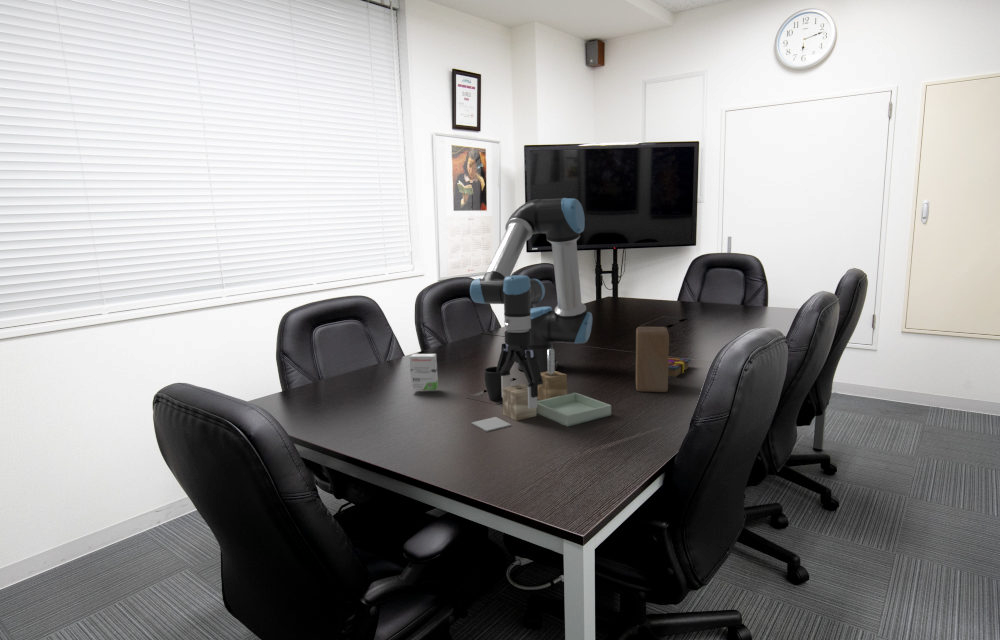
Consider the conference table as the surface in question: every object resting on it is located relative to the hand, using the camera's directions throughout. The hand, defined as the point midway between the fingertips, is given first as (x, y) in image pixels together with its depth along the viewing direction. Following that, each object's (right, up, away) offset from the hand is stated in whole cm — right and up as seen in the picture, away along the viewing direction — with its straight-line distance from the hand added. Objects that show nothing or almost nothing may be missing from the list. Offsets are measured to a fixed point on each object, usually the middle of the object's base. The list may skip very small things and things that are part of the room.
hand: (518, 402), depth 173 cm
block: (+45, +1, +24) cm, 51 cm away
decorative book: (+56, +4, +43) cm, 70 cm away
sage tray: (+16, -3, +1) cm, 16 cm away
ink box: (-31, 0, +32) cm, 44 cm away
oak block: (+11, -1, +16) cm, 19 cm away
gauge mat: (-8, -5, -7) cm, 12 cm away
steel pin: (+11, -1, +16) cm, 19 cm away
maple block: (0, -4, +1) cm, 4 cm away
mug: (-6, -1, +20) cm, 20 cm away
